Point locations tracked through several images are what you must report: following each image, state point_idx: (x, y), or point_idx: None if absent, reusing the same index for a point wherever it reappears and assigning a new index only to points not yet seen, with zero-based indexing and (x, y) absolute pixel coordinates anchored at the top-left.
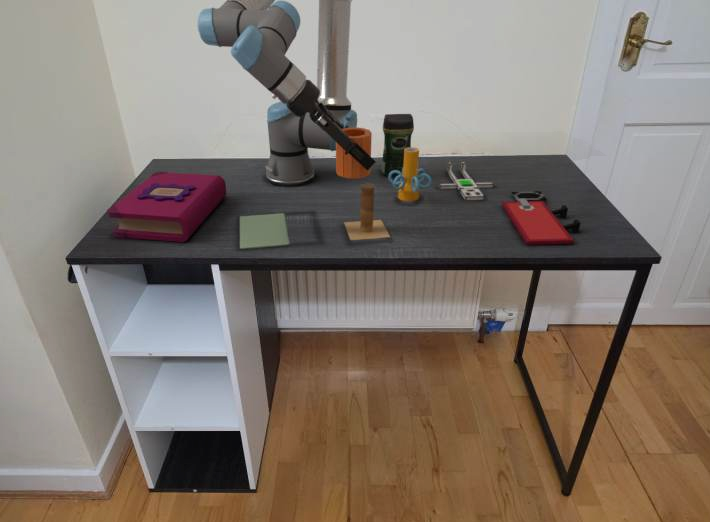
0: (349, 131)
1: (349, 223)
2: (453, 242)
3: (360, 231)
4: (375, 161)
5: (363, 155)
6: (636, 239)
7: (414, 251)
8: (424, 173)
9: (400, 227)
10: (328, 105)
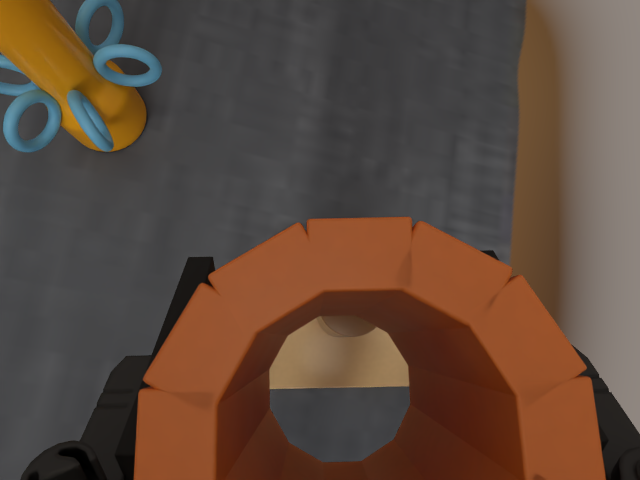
0: (220, 470)
1: (282, 368)
2: (430, 67)
3: (351, 338)
4: (483, 251)
5: (580, 356)
6: None
7: (474, 190)
8: (85, 3)
9: (310, 193)
10: None
